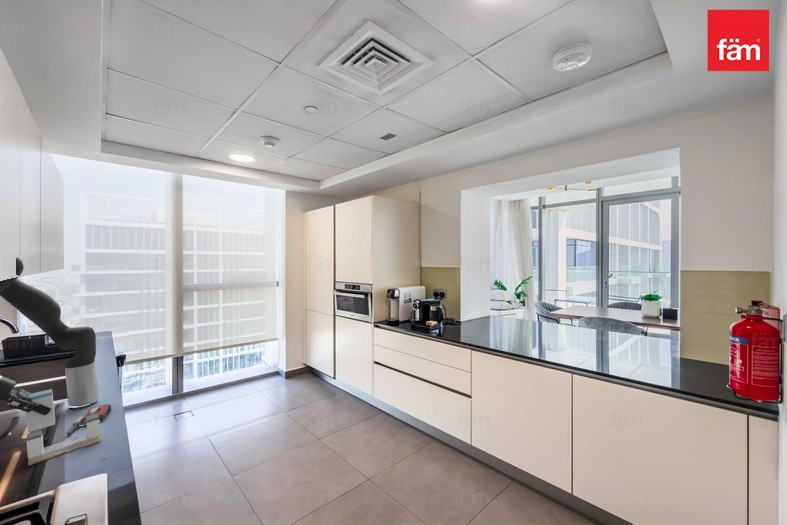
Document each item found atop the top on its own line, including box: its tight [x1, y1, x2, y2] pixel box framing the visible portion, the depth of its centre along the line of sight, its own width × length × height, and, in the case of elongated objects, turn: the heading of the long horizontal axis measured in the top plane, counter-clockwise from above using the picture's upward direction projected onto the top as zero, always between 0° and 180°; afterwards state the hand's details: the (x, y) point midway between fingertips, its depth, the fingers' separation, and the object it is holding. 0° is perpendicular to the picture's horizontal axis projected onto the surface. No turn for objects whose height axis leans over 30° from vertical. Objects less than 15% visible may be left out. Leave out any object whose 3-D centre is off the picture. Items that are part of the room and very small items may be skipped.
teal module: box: [25, 388, 56, 433], centre depth 107 cm, size 4×6×11 cm
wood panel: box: [27, 435, 102, 466], centre depth 103 cm, size 7×16×1 cm, turn 135°
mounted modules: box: [25, 413, 102, 460], centre depth 103 cm, size 4×16×6 cm, turn 135°
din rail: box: [28, 433, 101, 461], centre depth 103 cm, size 5×16×1 cm, turn 135°
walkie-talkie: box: [66, 403, 112, 436], centre depth 121 cm, size 9×4×20 cm
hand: (48, 409), depth 108 cm, fingers closed on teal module, 4 cm apart
